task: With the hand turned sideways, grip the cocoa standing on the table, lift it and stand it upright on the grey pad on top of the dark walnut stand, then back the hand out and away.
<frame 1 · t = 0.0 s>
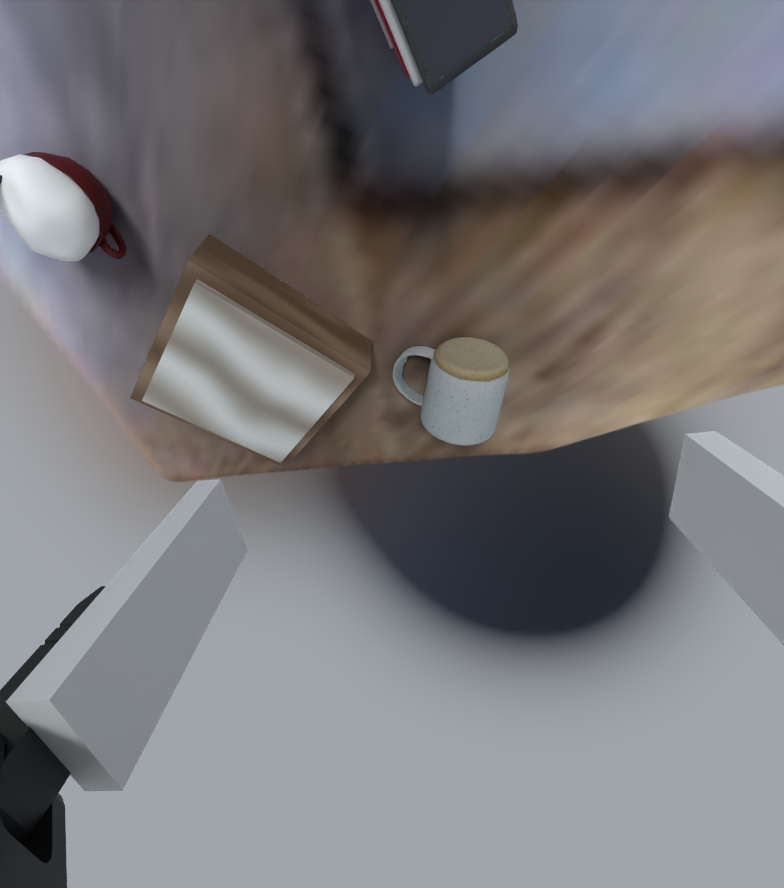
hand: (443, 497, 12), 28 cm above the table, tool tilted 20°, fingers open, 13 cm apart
cocoa: (77, 189, 31), on the table
ceramic mug: (446, 367, 43), on the table
walnut stand: (259, 354, 41), on the table
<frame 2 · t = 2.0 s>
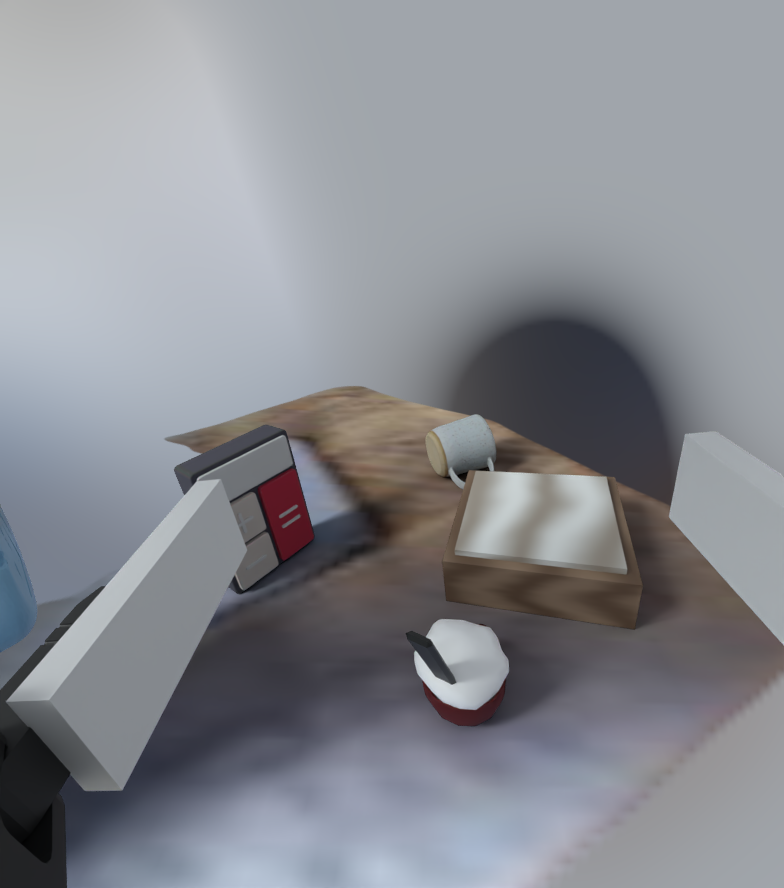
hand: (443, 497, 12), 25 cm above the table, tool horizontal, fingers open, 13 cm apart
cocoa: (461, 700, 32), on the table
ceramic mug: (466, 474, 61), on the table
calculator: (273, 561, 49), on the table
walnut stand: (535, 553, 44), on the table
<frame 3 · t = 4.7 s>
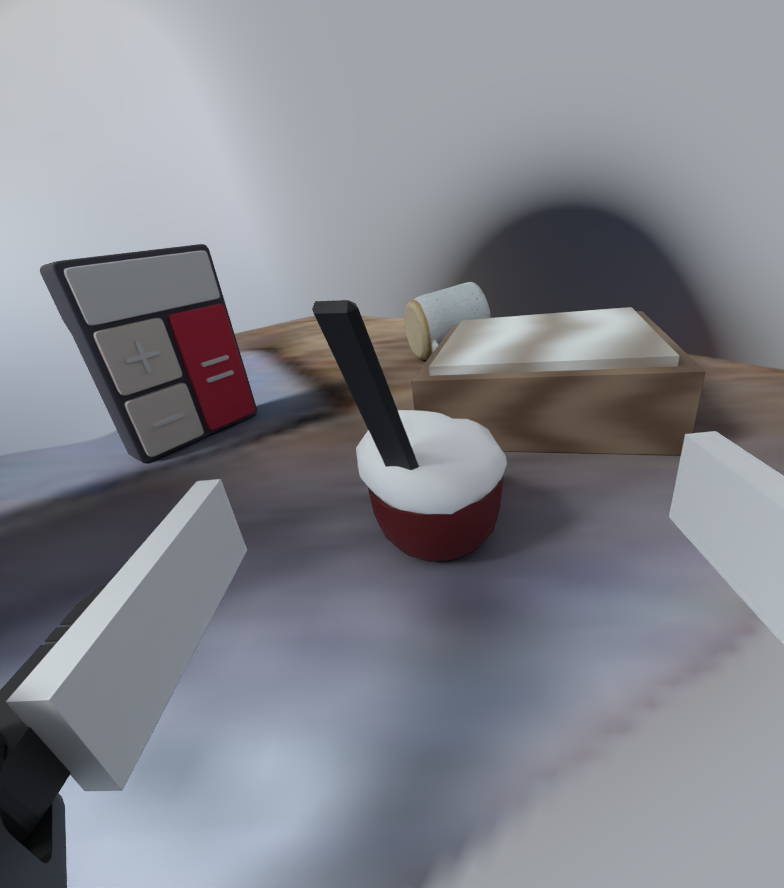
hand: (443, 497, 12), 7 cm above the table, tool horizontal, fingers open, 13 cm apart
cocoa: (435, 540, 21), on the table
ceramic mug: (455, 358, 49), on the table
calculator: (200, 436, 38), on the table
walnut stand: (540, 403, 33), on the table
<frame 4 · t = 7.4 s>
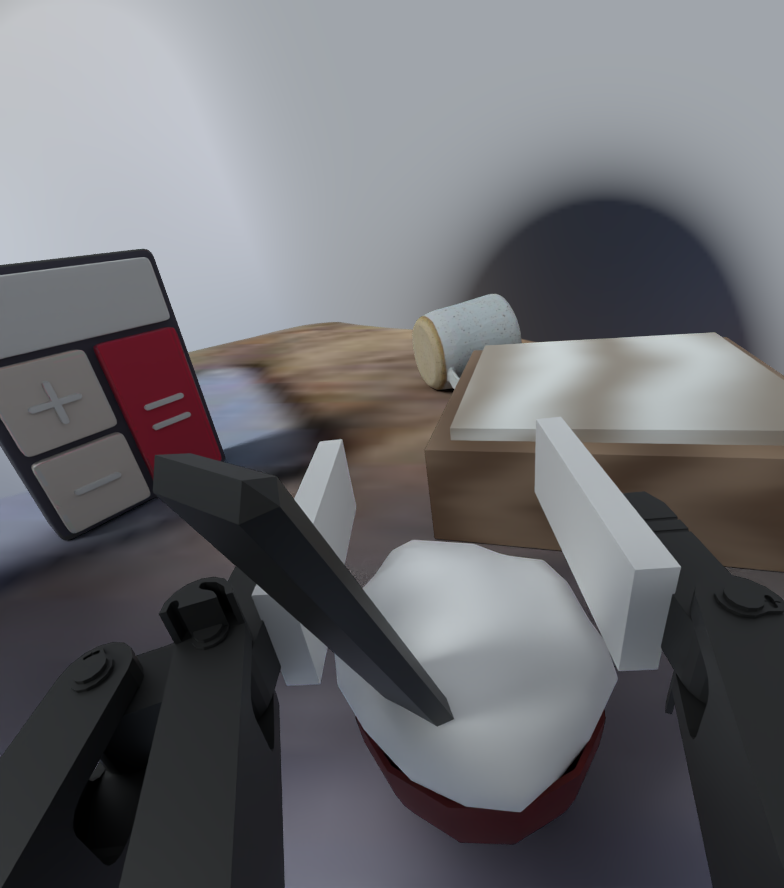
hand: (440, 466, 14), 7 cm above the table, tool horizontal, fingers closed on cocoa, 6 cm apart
cocoa: (469, 752, 12), on the table, touching gripper
ceramic mug: (474, 387, 40), on the table
calculator: (149, 494, 29), on the table
walnut stand: (595, 463, 25), on the table
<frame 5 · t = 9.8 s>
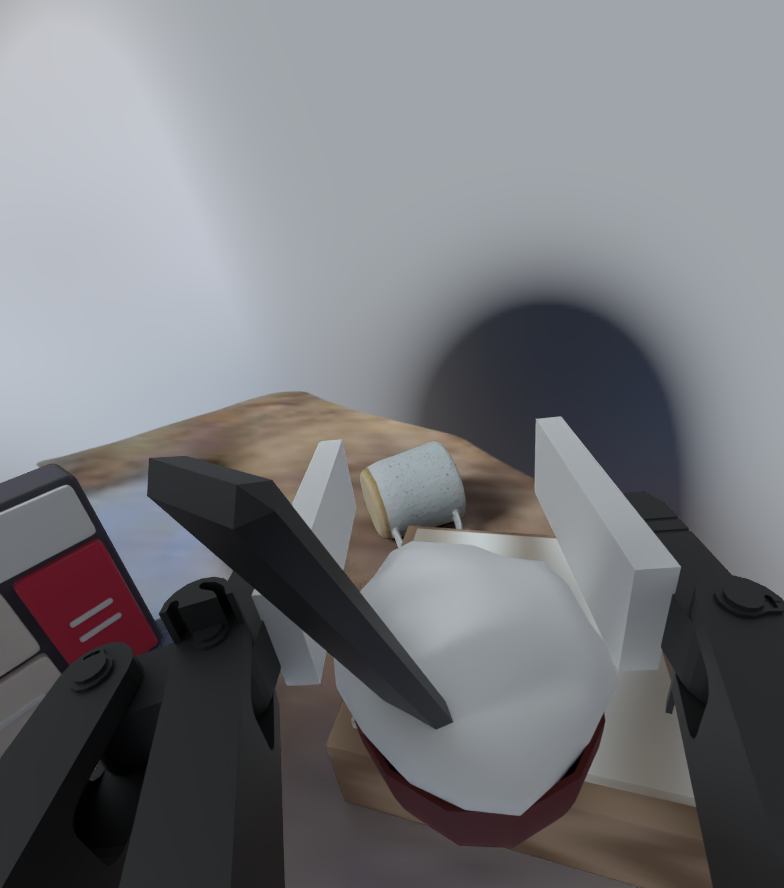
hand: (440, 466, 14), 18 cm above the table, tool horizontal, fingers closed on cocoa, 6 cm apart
cocoa: (468, 754, 12), point 11 cm above the table, touching gripper
ceramic mug: (423, 532, 40), on the table
calculator: (81, 689, 29), on the table
walnut stand: (512, 681, 26), on the table
when the fingers open (14 cm above the table, at t = 12.1 s): cocoa drops 1 cm, resting on walnut stand.
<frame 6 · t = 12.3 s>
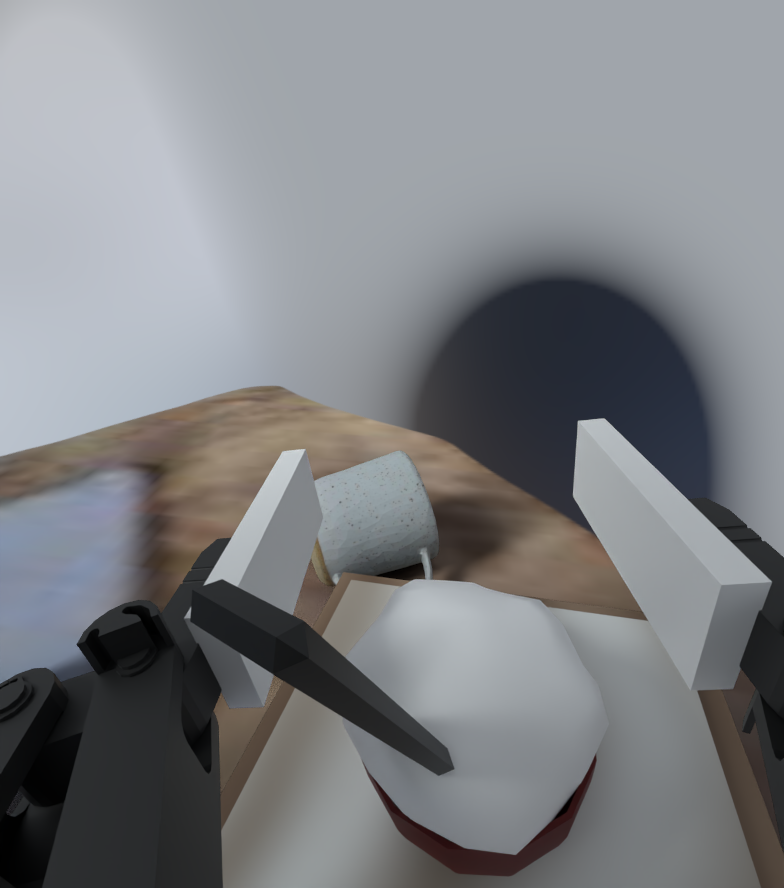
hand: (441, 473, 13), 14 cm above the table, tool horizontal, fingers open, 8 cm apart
cocoa: (467, 780, 13), point 5 cm above the table, touching walnut stand
ceramic mug: (383, 574, 29), on the table
walnut stand: (479, 856, 15), on the table
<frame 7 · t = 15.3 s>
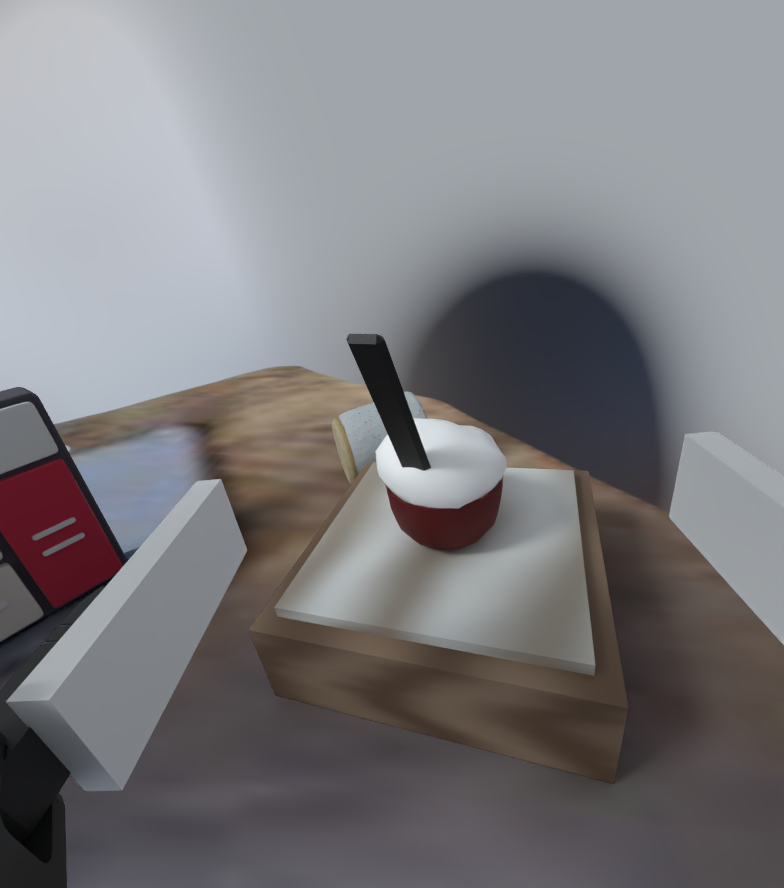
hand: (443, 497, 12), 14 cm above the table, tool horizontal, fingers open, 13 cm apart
cocoa: (443, 532, 24), point 5 cm above the table, touching walnut stand
ceramic mug: (394, 482, 40), on the table
calculator: (48, 607, 31), on the table
walnut stand: (453, 600, 26), on the table
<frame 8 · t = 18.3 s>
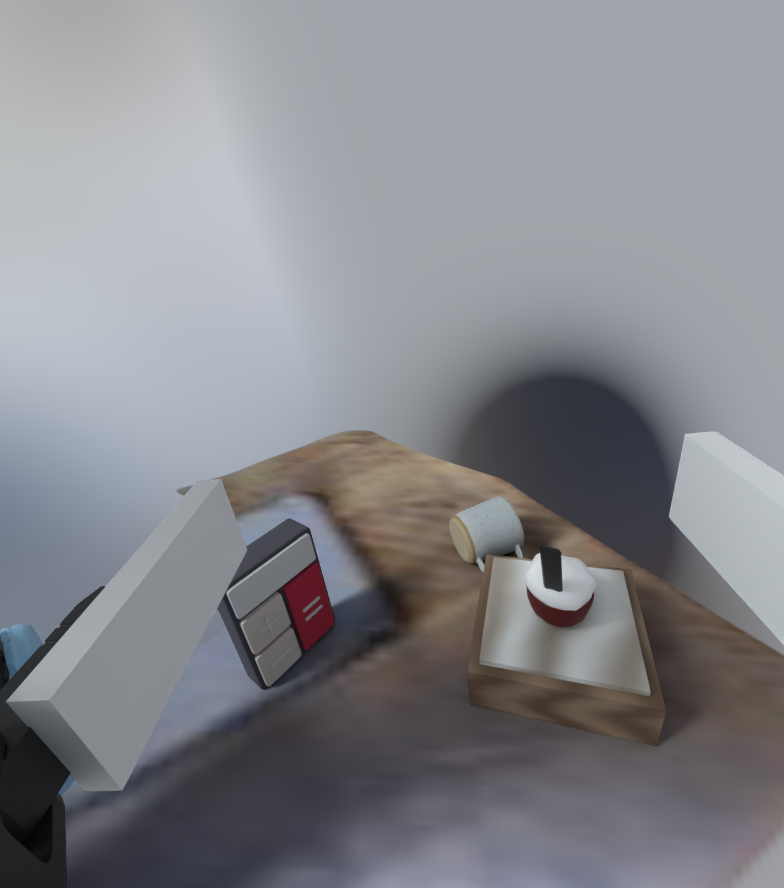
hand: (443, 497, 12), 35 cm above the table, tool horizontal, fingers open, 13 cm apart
cocoa: (555, 613, 43), point 5 cm above the table, touching walnut stand
ceramic mug: (492, 558, 59), on the table
calculator: (295, 649, 50), on the table
walnut stand: (555, 648, 45), on the table
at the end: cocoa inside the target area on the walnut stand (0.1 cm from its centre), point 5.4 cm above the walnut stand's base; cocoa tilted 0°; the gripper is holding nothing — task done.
